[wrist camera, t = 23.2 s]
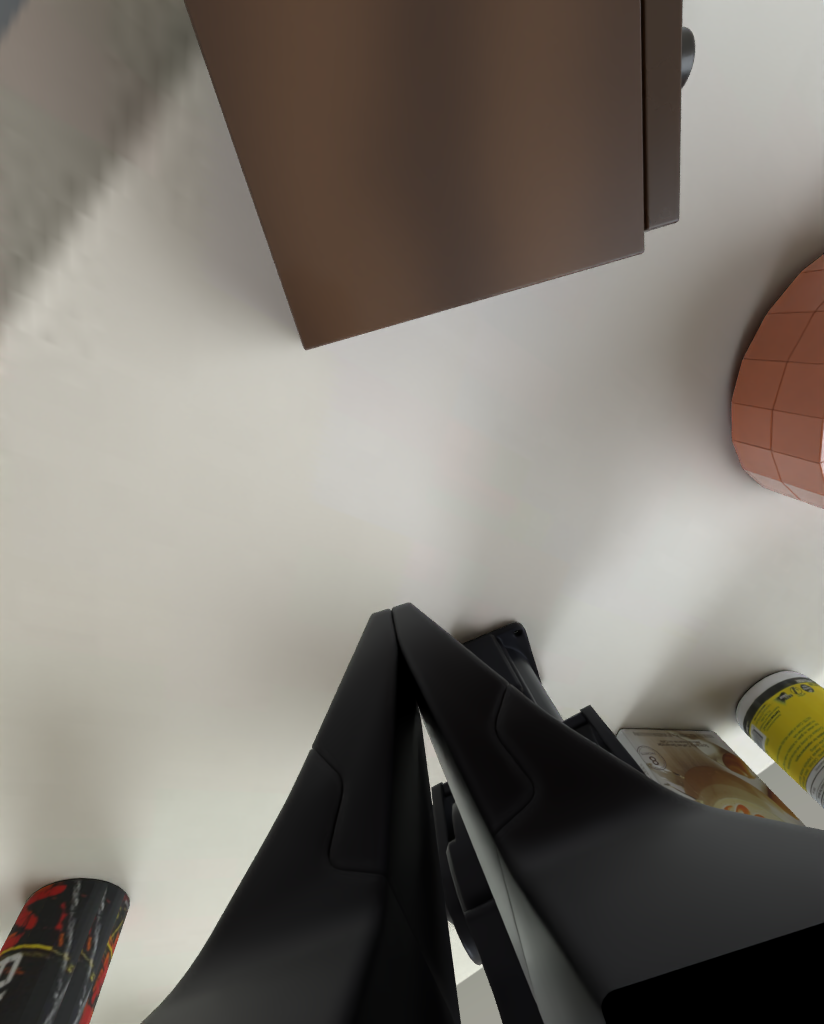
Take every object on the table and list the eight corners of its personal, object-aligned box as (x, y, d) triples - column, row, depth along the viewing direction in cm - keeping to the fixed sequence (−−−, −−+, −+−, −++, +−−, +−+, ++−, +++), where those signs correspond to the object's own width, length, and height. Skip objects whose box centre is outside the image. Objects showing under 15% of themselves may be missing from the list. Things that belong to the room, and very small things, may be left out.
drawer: (639, -94, 13) (732, -221, 10) (644, 233, 17) (712, 212, 14) (286, -13, 13) (273, -123, 10) (373, 310, 16) (383, 305, 13)
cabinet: (534, -79, 14) (637, -281, 9) (565, 272, 18) (645, 252, 13) (193, -1, 13) (122, -178, 8) (310, 345, 17) (304, 350, 13)
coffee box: (716, 727, 33) (1023, 1038, 18) (680, 783, 35) (929, 1102, 21) (617, 726, 31) (879, 1081, 16) (586, 787, 33) (791, 1147, 18)
